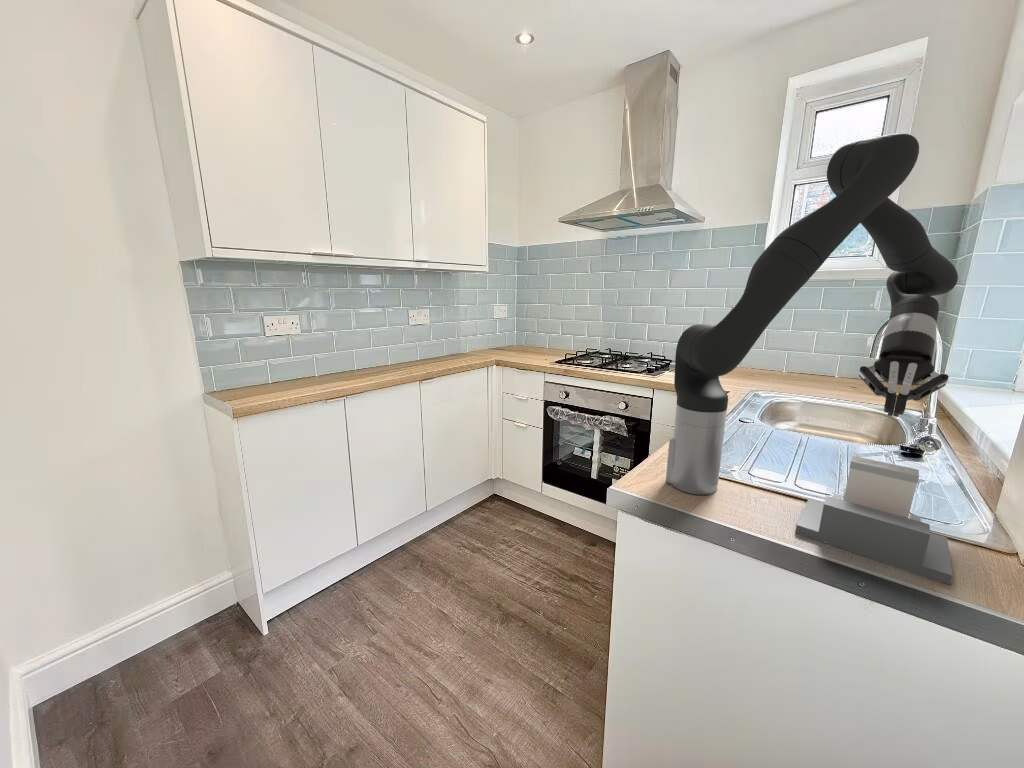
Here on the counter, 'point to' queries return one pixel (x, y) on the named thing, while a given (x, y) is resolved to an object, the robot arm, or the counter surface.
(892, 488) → the light grey upright block
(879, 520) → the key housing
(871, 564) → the counter surface
